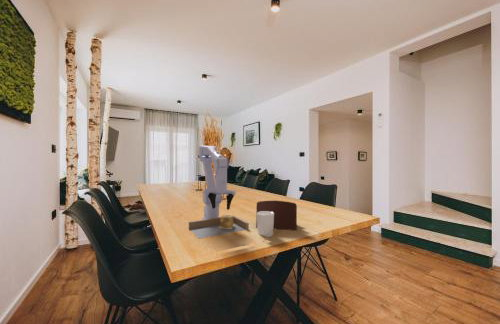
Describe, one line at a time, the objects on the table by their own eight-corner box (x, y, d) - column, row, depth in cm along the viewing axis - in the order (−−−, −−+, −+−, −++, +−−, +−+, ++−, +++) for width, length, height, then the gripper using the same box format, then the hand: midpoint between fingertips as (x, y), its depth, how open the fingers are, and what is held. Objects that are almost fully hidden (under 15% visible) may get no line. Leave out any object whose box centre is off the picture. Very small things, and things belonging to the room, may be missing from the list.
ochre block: (220, 227, 104) (220, 217, 104) (223, 224, 109) (224, 214, 109) (230, 228, 103) (230, 217, 103) (233, 225, 108) (233, 215, 108)
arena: (188, 230, 103) (188, 221, 103) (233, 222, 116) (233, 215, 116) (199, 240, 90) (199, 231, 90) (248, 231, 102) (248, 223, 102)
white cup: (276, 234, 99) (277, 212, 99) (269, 239, 92) (269, 216, 92) (261, 231, 103) (261, 210, 103) (253, 236, 96) (253, 213, 96)
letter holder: (296, 231, 104) (296, 201, 104) (256, 228, 107) (256, 200, 107) (296, 224, 114) (296, 198, 114) (258, 222, 117) (259, 196, 117)
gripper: (204, 181, 105) (204, 209, 105) (232, 182, 102) (232, 211, 102) (210, 180, 112) (210, 206, 112) (236, 181, 109) (236, 208, 109)
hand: (221, 208), depth 108 cm, fingers open, 7 cm apart
